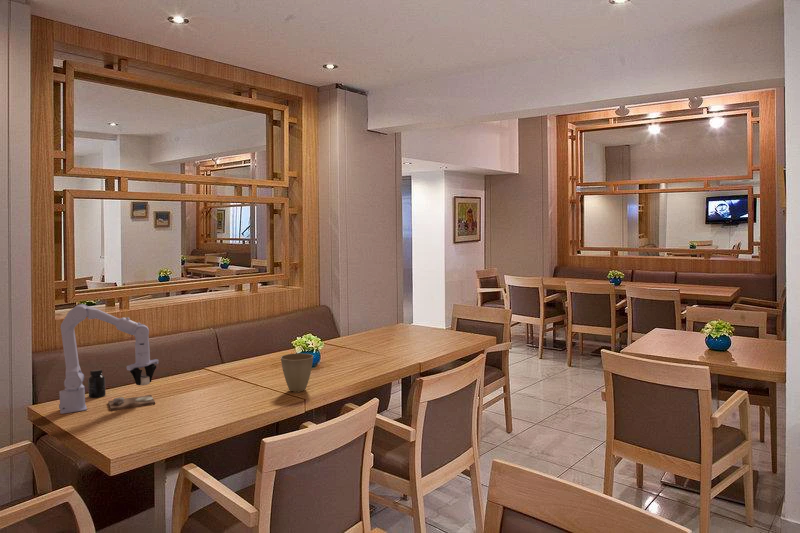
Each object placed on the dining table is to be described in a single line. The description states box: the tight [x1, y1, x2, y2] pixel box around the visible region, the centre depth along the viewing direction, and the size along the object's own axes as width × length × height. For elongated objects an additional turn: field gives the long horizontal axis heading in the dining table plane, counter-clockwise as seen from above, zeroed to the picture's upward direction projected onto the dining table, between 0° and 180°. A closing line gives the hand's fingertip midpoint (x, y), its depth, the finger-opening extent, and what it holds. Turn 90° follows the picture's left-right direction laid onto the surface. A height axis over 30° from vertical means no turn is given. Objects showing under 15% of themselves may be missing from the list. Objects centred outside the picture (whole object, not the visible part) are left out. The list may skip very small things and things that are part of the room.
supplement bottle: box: [87, 368, 107, 399], centre depth 253 cm, size 7×7×12 cm
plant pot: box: [280, 353, 314, 392], centre depth 259 cm, size 15×15×16 cm
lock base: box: [108, 394, 156, 412], centre depth 241 cm, size 17×13×3 cm
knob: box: [140, 374, 151, 386], centre depth 244 cm, size 5×5×4 cm
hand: (143, 383), depth 244 cm, fingers closed on knob, 5 cm apart
